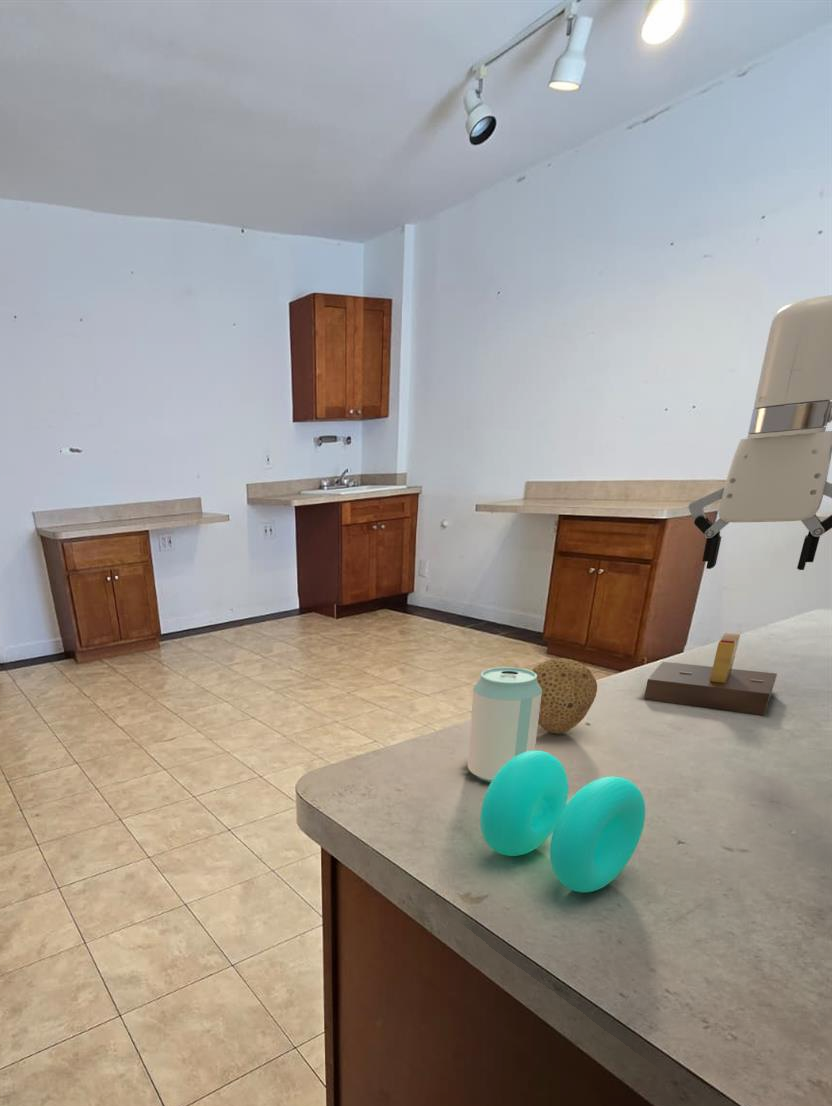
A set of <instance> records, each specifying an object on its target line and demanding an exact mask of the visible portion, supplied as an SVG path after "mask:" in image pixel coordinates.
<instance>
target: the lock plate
mask: <svg viewBox="0 0 832 1106" xmlns="http://www.w3.org/2000/svg"><path fill="white" fill-rule="evenodd" d="M712 668H713V666H708V665H698V664H688V663H679V662H671V661H670V662H668V661H661V662H660V663H659V665H658V666H657V667H656V668H655V670H654V671H653V672H652V673H651V675H650V676H648V678H647V681H646V685H645V692H644V696H643V699H644V700H650V701H655V702H656V701H657V702H664V703H670V704H677V705H684V706H685V705H686V706H692V707H693V706H694V707H701V708H707V709H714V710H723V711H730V712H737V713H745V714H752V715H759V716H765V713H766V711H767V708H768V706H769V702H770V699H771V696H772V693H773V689H774V686H775V682H776V679H777V676H778V673H775V672H767V671H757V670H746V669H739V668H738V669H737V668H732V670H731V673H730V675H729V677H728V679H727V680H726V682H725V683H721V682H712V681H710V677H711V673H712Z"/></svg>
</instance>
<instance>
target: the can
mask: <svg viewBox="0 0 832 1106" xmlns="http://www.w3.org/2000/svg"><path fill="white" fill-rule="evenodd" d="M541 695H542V689H541V687H540V685H539V684H538V682H537V674H536V673H534V672H533V671H531V670H530V669H527V668H522V667H512V666H500V667H491V668H487V669H485V670H483V671H482V672H480V678H479V679H478V680H477V681H476V683H475V684H474V686H473V690H472V703H471V715H470V728H469V729H470V731H469V740H468V741H469V742H468V755H467V756H468V757H467V768H468V771H469V772H470V773H471V774H473V775H474V776H476V777H477V778H478V779H480V780H483V781H484V782H488V783H491V782H492V780H493V778H494V777H495V775H496V774H497V773H498V771H499V770H500V769H501V768H502V767H503V766H504V765H505V764H506V763H507V762H508V761H509V760H511V759H512V758H514V757H515V756H517V755H519V754H521V753H524V752H527V751H533V750H536V745H537V744H536V743H537V735H538V728H539V724H538V720H539V712H540V704H541Z"/></svg>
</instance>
